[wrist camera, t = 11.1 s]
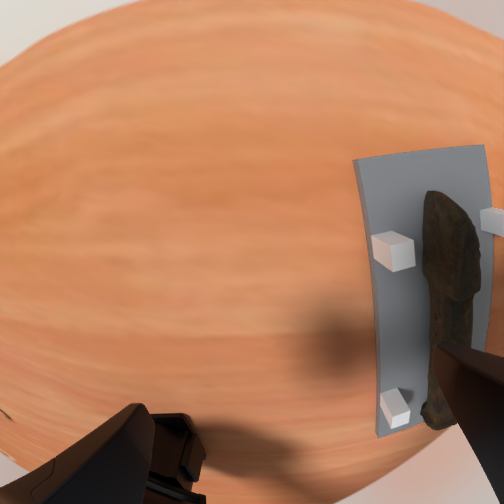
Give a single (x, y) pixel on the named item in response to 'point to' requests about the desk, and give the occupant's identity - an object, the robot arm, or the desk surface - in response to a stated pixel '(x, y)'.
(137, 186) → the desk surface
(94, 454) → the robot arm
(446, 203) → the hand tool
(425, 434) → the desk surface
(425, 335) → the plate
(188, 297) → the desk surface
